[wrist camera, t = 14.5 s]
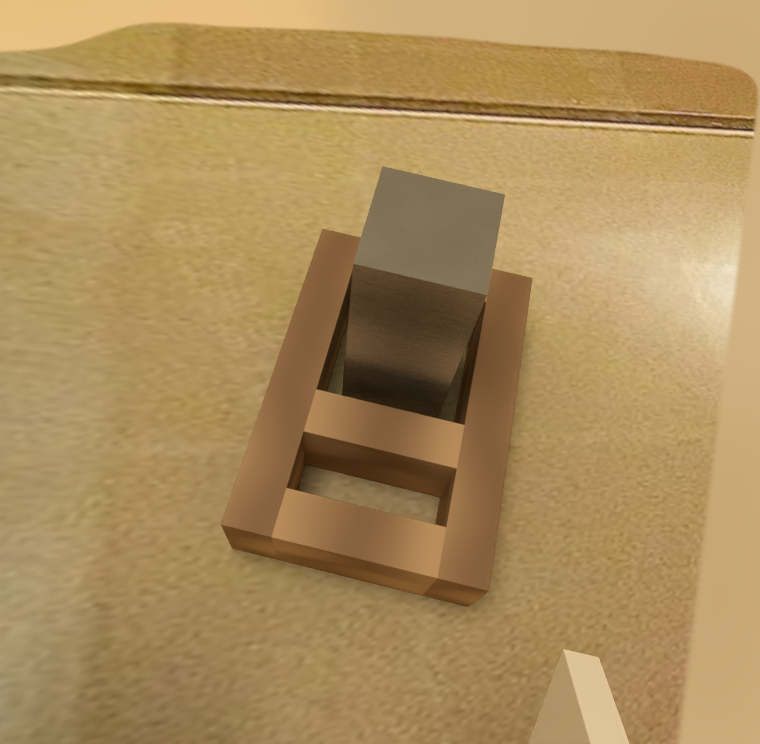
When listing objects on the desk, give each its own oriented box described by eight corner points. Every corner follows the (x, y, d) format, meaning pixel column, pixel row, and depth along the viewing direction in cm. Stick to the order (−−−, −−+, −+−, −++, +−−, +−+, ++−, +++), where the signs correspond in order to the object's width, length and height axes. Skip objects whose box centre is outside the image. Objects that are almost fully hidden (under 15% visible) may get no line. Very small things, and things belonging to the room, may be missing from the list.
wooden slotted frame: (232, 548, 29) (220, 524, 25) (321, 276, 36) (322, 228, 32) (467, 606, 28) (488, 590, 25) (510, 321, 36) (532, 278, 32)
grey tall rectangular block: (340, 413, 32) (353, 263, 22) (361, 336, 34) (382, 166, 24) (430, 434, 32) (487, 294, 22) (445, 356, 34) (504, 194, 24)
